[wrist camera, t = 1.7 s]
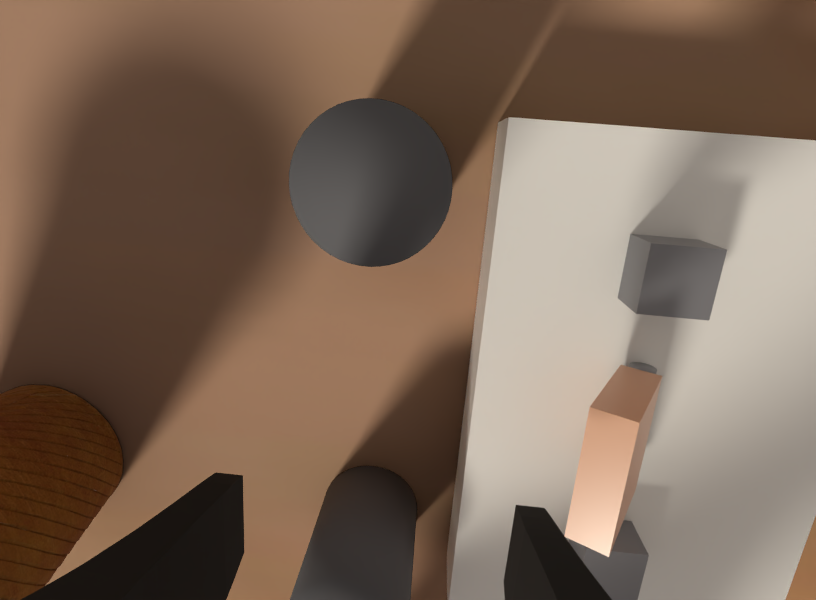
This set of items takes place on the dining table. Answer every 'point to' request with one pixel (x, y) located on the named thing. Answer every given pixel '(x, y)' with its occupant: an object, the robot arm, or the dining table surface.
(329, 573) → the post
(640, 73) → the dining table surface
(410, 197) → the post
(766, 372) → the panel
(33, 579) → the disposable coffee cup
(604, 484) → the tan rectangular block
